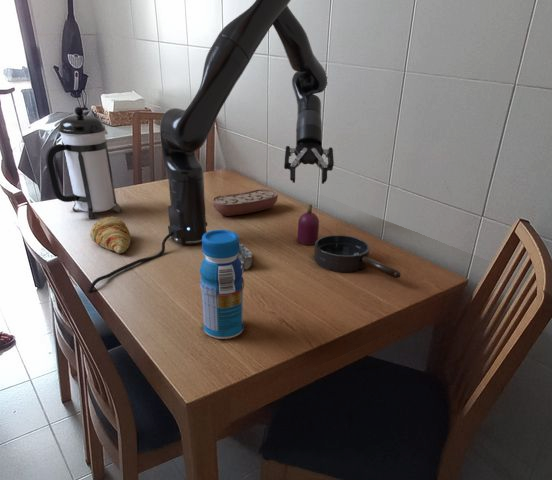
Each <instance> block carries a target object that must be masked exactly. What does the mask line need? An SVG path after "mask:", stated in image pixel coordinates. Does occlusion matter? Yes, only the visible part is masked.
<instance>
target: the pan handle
mask: <svg viewBox="0 0 552 480" xmlns="http://www.w3.org/2000/svg"><path fill="white" fill-rule="evenodd" d="M361 261H362V263H363V264H365V265H366V266H368V267H370V268H372V269H375V270H377V271H379V272H381V273H383V274H385V275H388V276H390V277H392V278H394V279H399V278H400V277H401V271H399V270H398V269H395V268H393V267H392V266H391V267H390V266H388V265H386V264H384V263H381V262H379V261H377V260H375V259H372V258H370V257H369V258H368V257H363V258H362V259H361Z"/></svg>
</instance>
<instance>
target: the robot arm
mask: <svg viewBox="0 0 552 480" xmlns="http://www.w3.org/2000/svg"><path fill="white" fill-rule="evenodd" d="M290 2H292V1H291V0H255V1H254V2H253V4H252V5H250V6H249V7H248V8H247V9H246V10H244V12H242V13H241V14H239V15H238V16H236V17H235V18H234V19H233V20H231V21H230V22H229V23H227V24H226V25H225V26H224V27H223V28H222V29H221V31H220V32H219V33H218V35H217V36H216V39H215V40H214V42H213V43H212V44H211V46H210V48H209V50H208V52H207V55H206V57H205V60H204V65H203V70H202V76H201V83H200V85H199V89H198V90H197V92H196V94H195V95H194V97H193V99H192V101H191V102H190V103H189V104H188V106H187V108H186V109H183V108H178V107H173V108H170V109H168V110H166V111H165V113H164V114H163V115H162V117H161V119H160V125H159V135H160V144H161V149H162V150H161V152H162V159H163V164H164V167H165V168H166V172H167V177H168V178H167V179H168V187H169V188H168V189H169V199H170V204H169V205H168V206H167V211H168V222H169V225H168V226H167V228H168V229H167V230H168V234H167V235H166V236H165V237H164V238H163V240H162V242H161V250H160V252H158V253H157V254H154V255H153V256H149V257H144V258H139V259H136V260H134V261H132V262H129V263H127V264H125V265H122V266H120V267H118V268H117V269H115V270H113V271H111V272H109V273H106V274H104V275H102V276H99V277H97V278H95V279H94V280H93V281H92V282H91V284H90V285H89V287H88V289H87V294H90V293H92V292H93V289H94V288H95V286H96V285H97V283H99V282H100V281H103V280H105V279H108V278H110V277H112V276H115V275H116V274H118V273H120V272H122V271H124V270H126V269H128V268H130V267H134V266H135V265H137V264H140V263H144V262H148V261H151V260H154V259H157V258H159V257H161V256H162V255H163V254H164V253H165V250H166V243H167V240H168V239H171V240H172V241H173V242H176V243H177V244H179V245H180V246H187V245H188V246H189V245H191V246H192V245H199V244H202V236H203V235H204V234H205V233H207V232H208V231H207V227H208V222H207V218H206V217H207V216H206V215H207V214H206V198H205V196H206V195H205V179H204V178H205V177H204V167H203V165H202V163H201V162H200V160H199V159H198V157H197V154H196V152H197V151H199V150H200V149H201V148H202V147H203V146H204V144H205V143H206V141H207V139H208V137H209V135H210V133H211V131H212V129H213V127H214V124H215V123H216V120H217V118H218V115H219V114H220V112H221V110H222V108H223V106H224V105H225V103H226V102H227V100H228V98H229V97H230V94H232V93H231V92H232V91H233V89H234V87H235V86H236V84H237V83H238V82H239V79H240V78H241V77H242V75H243V74H244V72H245V70H246V69H247V67H248V65H249V63H250V62H251V60H252V59H253V57H254V54H255V53H256V51H257V49H258V48H259V46H260V45H261V43H262V42H263V40H264V39H265V37H266V35H267V34H268V32H269V31H270V29H271V28H272V27H273V29H274V30H275V32H276V34H277V36H278V38H279V40H280V42H281V44H282V47H283V49H284V53H285V54H286V57H287V60H288V63H289V65H290V67H291V69H292V70H293V71H294V72H295V73H293V74H292V75H293V76H292V77H291V86H292V90H293V93H294V95H295V96H294V97H295V100H296V105H297V114H296V115H297V117H296V123H295V124H296V126H295V127H296V129H295V147H294V148H293V147H290V145H286V146H285V151H284V152H285V153H284V165H283V168H284V170H289V172H290V173H289V180H290V181H291V182H292V183H294V184H295V183H296V169H297V168H298V167H300V165H301V164H302V165H308V164H309V165H316V167H318V168H319V169H320V170H321V185H322V184H325V183H327V180H328V171H330V172H331V171H333V169H334V165H335V163H334V162H335V160H334V149H333V147H332V146H331V147H329V148H327V149H326V148H323V121H322V101H321V99H320V97H319V96H318V95H317V94H319V93H322V92H324V91H325V90H326V89H327V87H328V82H327V79H328V75H327V72H326V70H325V68H324V67H323V65H322V64H321V62H320V61H319V60H318V59H317V57H316V56H315V54H314V52H313V49H312V46H311V42H310V40H309V37H308V34H307V32H306V30H305V29H304V27H303V25H302V24H301V23H300V21H299V20H298V19H297V17H296V16H295V14H294V13H293V12H292V11H291V10H292V9H291V8H289V4H290ZM325 72H326V73H325ZM326 75H327V76H326ZM326 86H327V87H326ZM325 88H326V89H325ZM293 155H295V156H296V157H295V158H294V160H293V161H292V162H290V157H293ZM323 155H324V156H325V158H326V159H327V163H326V161H325V160H324V158H323Z"/></svg>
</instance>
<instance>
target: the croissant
mask: <svg viewBox="0 0 552 480" xmlns="http://www.w3.org/2000/svg"><path fill="white" fill-rule="evenodd" d="M89 236H90V239H91V240H92V241H93V242H94V243H96V244H97V246H100V247H102V248H104V249H107V250H109V251H112V252H114V253H117V254H123V253H124V252H126V251H127V250H128V249H129V247H130V245H131V240H132V238H131V233H130V229H129V228H128V226H127V224H126V223H125V221H122V219H119V218H118V217H114V216H111V215H110V216H106V217H103V218H100V219H98V220H97V221H96V222H95V223H94V224H93V226H92V227H91V230H90V233H89Z"/></svg>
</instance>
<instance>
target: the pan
mask: <svg viewBox="0 0 552 480" xmlns="http://www.w3.org/2000/svg"><path fill="white" fill-rule="evenodd" d="M370 251H371V248H370V245H369V243H368V242H367V241H365V240H363V239H361V238H358V237H355V236H351V235H343V234H329V235H325V236H321V237H318V239H317V241H316V242H315V243H314V251H313V260H314V262H315V264H317V265H318V266H319V267H320V268H322V269H325V270H328V271H331V272H336V273H337V272H338V273H354V272H358V271H360V270H362V269H364V268H365V267H366V266H367V265H365V264H363V263H362V261H361V259H362V258H363V257H368V258H370Z"/></svg>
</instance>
